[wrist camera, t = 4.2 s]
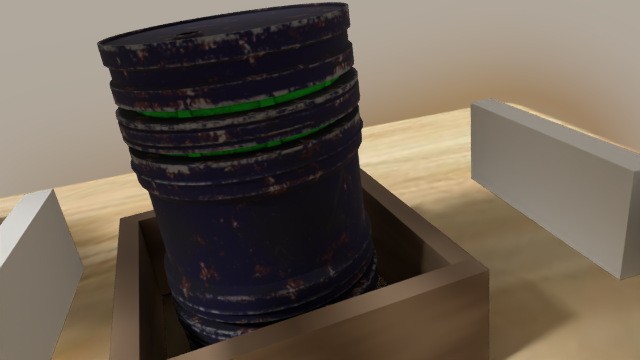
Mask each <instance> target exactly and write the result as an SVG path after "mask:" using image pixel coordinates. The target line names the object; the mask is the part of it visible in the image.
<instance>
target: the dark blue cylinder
mask: <svg viewBox="0 0 640 360" xmlns="http://www.w3.org/2000/svg"><path fill="white" fill-rule="evenodd" d="M349 27H350V18H349V9H348V4H346V3H340V2H339V3H338V2H327V3H311V4H298V5H288V6H279V7H270V8H262V9H255V10H248V11H240V12H233V13H227V14H220V15H214V16H208V17H202V18H196V19H190V20H185V21H180V22H174V23H168V24H163V25H158V26H153V27H149V28H144V29H139V30H135V31H131V32H127V33H123V34H119V35H115V36H112V37H109V38H106V39H103V40H101V41H99V42H98V43H97V45H98V48H99V52H100V55H101V58H102V61H103V65H104V66H106V67H107V68H109V70H110V74H111V77H112V80H111V81H110V88H111V91H112V94H113V98H114V101H115V104H116V105H118V106H119V107H118V109H117V110H116V117H117V120H118V123H119V127H120V131H121V133H122V136H123V140H124V142H125V143H126V144H127V145H128V146H129V152H130V155H131V158H132V160H131V168H132V169H133V171H134V172H135V173H136V175H137V178H138V181H139V183H140V184H141V186H142V187H143V188H145V189H146V190H148V192H149V195H150V198H151V202H152V205H153V208H154V212H155V215H156V218H157V222H158V225H159V228H160V232H161V235H162V238H163V242H164V245H165V248H166V253H165V258H164V266H165V270H166V274H167V279H168V285H169V286H170V288H171V290H172V291H171V295H172V299H173V303H174V306H175V310H176V313H177V316H178V320H179V322H180V324H181V326H182V327H183V329H184V330H185V333H186V337H187V339H188V340H189V342H190V349H191V351H194V350H197V349H200V348H203V347H206V346H209V345H212V344H215V343H218V342H221V341H224V340H227V339H230V338H233V337H236V336H239V335H242V334H245V333H248V332H251V331H254V330H257V329H260V328H263V327H266V326H269V325H272V324H275V323H278V322H281V321H284V320H287V319H290V318H293V317H296V316H299V315H302V314H305V313H308V312H311V311H314V310H317V309H320V308H323V307H326V306H329V305H332V304H335V303H338V302H341V301H344V300H347V299H350V298H353V297H356V296H359V295H362V294H365V293H368V292H371V291H374V290H377V283H378V267H377V257H376V251H375V248H374V245H373V239H372V230H371V221H370V218H369V216H368V214H367V212H366V211H365V210H364V203H363V193H362V184H361V175H360V166H359V156H358V149H359V146H360V144H361V142H362V133H361V130H362V128H363V121H362V119H361V117H360V114H359V106H358V102H359V100H360V93H359V82H358V73H357V71H356V69H355V68H353V67H352V66H353V64H354V57H353V48H352V43H351V42H350V41H349V40H348V34H347V29H348V28H349Z"/></svg>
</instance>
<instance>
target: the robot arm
mask: <svg viewBox="0 0 640 360" xmlns="http://www.w3.org/2000/svg"><path fill="white" fill-rule="evenodd" d="M471 179H473V180H474V181H476V182H477V183H479V184H480V185H482V186H483V187H485V188H486V189H488V190H489V191H490V192H492V193H493V194H495V195H496V196H498V197H499V198H501V199H502V200H504V201H505V202H506V203H508V204H509V205H511V206H512V207H514V208H515V209H517V210H518V211H520V212H521V213H522V214H524V215H525V216H527V217H528V218H530V219H531V220H533V221H534V222H536V223H537V224H539V225H540V226H541V227H543V228H544V229H546V230H547V231H549V232H550V233H552V234H553V235H555V236H556V237H557V238H559V239H560V240H562V241H563V242H565V243H566V244H568V245H569V246H571V247H572V248H573V249H575V250H576V251H578V252H579V253H581V254H582V255H584V256H585V257H587V258H588V259H590V260H591V261H592V262H594V263H595V264H597V265H598V266H600V267H601V268H603V269H604V270H606V271H607V272H608V273H610V274H611V275H613V276H614V277H616V278H617V279H619V280H622V279H626V278H629V277H632V276H636V275H639V274H640V154H637V153H635V152H632V151H629V150H627V149H624V148H622V147H619V146H616V145H614V144H611V143H608V142H606V141H603V140H600V139H598V138H595V137H592V136H590V135H587V134H584V133H582V132H579V131H576V130H574V129H571V128H568V127H566V126H563V125H560V124H558V123H555V122H552V121H550V120H547V119H545V118H542V117H539V116H537V115H534V114H531V113H529V112H526V111H523V110H521V109H518V108H515V107H513V106H510V105H507V104H505V103H502V102H499V101H497V100H494V99H487V100H482V101H478V102H473V103H471ZM83 271H84V268H83V265H82V262H81V260H80V257H79V255H78V252H77V249H76V247H75V244H74V242H73V239H72V236H71V234H70V231H69V228H68V226H67V223H66V221H65V218H64V215H63V213H62V210H61V208H60V205H59V202H58V200H57V197H56V195H55V192H54V189H48V190H43V191H38V192H33V193H28V194H24V196H23V197H22V198H21V200H20V201H19V202H18V203H17V205H16V206H15V207H14V208H13V210H12V211H11V212H10V214H9V215H8V216H7V217H6V219H5V220H4V221H3V223H2V224H1V225H0V360H51V358H52V355H53V352H54V350H55V347H56V344H57V342H58V339H59V336H60V333H61V331H62V328H63V325H64V323H65V320H66V317H67V314H68V312H69V309H70V306H71V303H72V301H73V298H74V295H75V293H76V290H77V287H78V284H79V282H80V279H81V276H82V274H83Z"/></svg>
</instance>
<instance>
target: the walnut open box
mask: <svg viewBox="0 0 640 360" xmlns="http://www.w3.org/2000/svg"><path fill="white" fill-rule="evenodd" d="M360 175H361V184H362V193H363V203H364V210H365V211H366V212H367V214H368V216H369V218H370V221H371V230H372V239H373V245H374V248H375V251H376V257H377V267H378V273H379V274H380V275H381V276H382V277H383V278H384V280H385V281H386V282H387V283H388V284H389V286H386V287H383V288H380V289H377V290H374V291H371V292H368V293H365V294H362V295H359V296H356V297H353V298H350V299H347V300H344V301H341V302H338V303H335V304H332V305H329V306H326V307H323V308H320V309H317V310H314V311H311V312H308V313H305V314H302V315H299V316H296V317H293V318H290V319H287V320H284V321H281V322H278V323H275V324H272V325H269V326H266V327H263V328H260V329H257V330H254V331H251V332H248V333H245V334H242V335H239V336H236V337H233V338H230V339H227V340H224V341H221V342H218V343H215V344H212V345H209V346H206V347H203V348H200V349H197V350H194V351H191V352H188V353H185V354H182V355H179V356H176V357H173V358H170V359H167V351H166V339H165V326H164V314H163V302H162V295H165V294H168V293H171V291H172V290H171V288H170V286H169V285H168V279H167V274H166V270H165V266H164V258H165V253H166V248H165V245H164V242H163V238H162V235H161V232H160V228H159V225H158V222H157V218H156V215H155V212H154V210H151V211H147V212H143V213H139V214H135V215H132V216H128V217H124V218H120V225H119V238H118V251H117V265H116V278H115V291H114V305H113V318H112V331H111V345H110V358H109V360H489V269H488V268H486V267H485V266H484V265H483V264H481V263H480V262H479V261H477V260H476V259H475V258H474V257H472V256H471V255H470V254H469V253H467V252H466V251H465V250H464V249H462V248H461V247H460V246H458V245H457V244H456V243H455V242H453V241H452V240H451V239H450V238H448V237H447V236H446V235H444V234H443V233H442V232H441V231H439V230H438V229H437V228H436V227H434V226H433V225H432V224H431V223H429V222H428V221H427V220H425V219H424V218H423V217H422V216H420V215H419V214H418V213H417V212H415V211H414V210H413V209H411V208H410V207H409V206H408V205H406V204H405V203H404V202H403V201H401V200H400V199H399V198H398V197H396V196H395V195H394V194H392V193H391V192H390V191H389V190H387V189H386V188H385V187H384V186H382V185H381V184H380V183H378V182H377V181H376V180H375V179H373V178H372V177H371V176H370V175H368V174H367V173H366V172H365V171H363V170H362V169H361V168H360Z"/></svg>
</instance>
